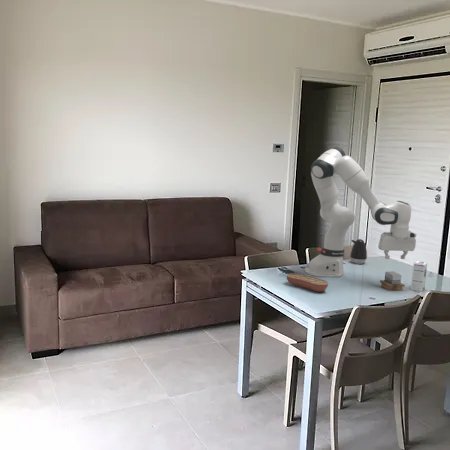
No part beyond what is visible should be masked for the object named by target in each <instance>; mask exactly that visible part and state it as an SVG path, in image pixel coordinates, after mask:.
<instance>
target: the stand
mask: <svg viewBox="0 0 450 450" xmlns="http://www.w3.org/2000/svg"><path fill="white" fill-rule="evenodd" d="M384 280H385V279H381V280H379V282H380V283H381V287H382V288H384V289H386V290H388V291H390V292H391V291H393V292H394V291H403V289H404V288H403V287H405V286H406V285H405V284H404V283H402V282H401V283H400V285H391V284H390V283H388V282H386V281H384Z"/></svg>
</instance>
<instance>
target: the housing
mask: <svg viewBox="0 0 450 450" xmlns="http://www.w3.org/2000/svg"><path fill="white" fill-rule="evenodd" d="M383 280H384V281H386V282H388V283H390V284H391V285H400V283H402V274H400V273H398V272H396V271H385V272H384V279H383Z"/></svg>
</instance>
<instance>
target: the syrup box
mask: <svg viewBox="0 0 450 450" xmlns="http://www.w3.org/2000/svg"><path fill="white" fill-rule="evenodd" d="M427 268H428V262H426V261H418V260H416V261H415V262H413V268H412V278H411V285H410V287H411V288H410V289H411V290H412V291H417V292H423V291H424V290H425V288H426V287H425V286H426V277H427V270H428V269H427Z"/></svg>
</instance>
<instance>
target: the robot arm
mask: <svg viewBox="0 0 450 450" xmlns="http://www.w3.org/2000/svg"><path fill="white" fill-rule="evenodd" d="M334 174H335V175H338V176H339V177H340V178H341V180H342V181H343V182H344V184H345V185H346V186H347V187H348V188H349V189H350V190H351V192H354V193H355V194H358V195H359V197H360V198H361V199H363V201H364V202H365V204H366V205H367V206H368V208H369V209H370V214H371V217H372V219H373V220H374V221H375V223H377V224H379V225H382V226H386V225H387V226H388V225H390V229H389V231H388V232H386V231H384V232H382V233H381V234H380V238H379V242H378V246H377V247H378V249H379V250H380V251H383V253H384V258H385V259H386V260H389V259H390V257H391V255H389V252H390V251H394V252H396V251H397V252H403V253H402V254H401V255H400V259H401V260H405V258H406V256H407V254H408V253H409V252H413V251H415V249H416V246H417V245H416V244H417V241H416V237H417V233H415V232H413V231H411V230H409V228H410V226H409V224H410V221H411V217H412V215H411V214H412V207H411V205H410V204H409V203H407V202H405V201H401V200H396V201H394V202H392V203H390V204H385V203H383V202H382V201H381V200H380V199H379V198H378V197H377V196H376V194H375V193H374V191H373V190H372V188H371V186H370V181H369V178H368V176H367V174H366V172H365V171H364V170H363V168H362V167H361V166H360V165H359V163H358V162H357V161H355V159H354V158H353V157H352V156H350V155H346V153H345V151H344V150H343V149H342V148H341V147H338V146H333V147H331V148H329V149H327V150H326V151H325V152H323V153H322V154H320V156H319V157H318V158H317V159H316V160H314V161H313V162H312V164H311V166H310V176H311V180H312V183H313V186H314V188H315V191H316V194H317V197H318V199H319V202H320V210H319V215H320V217H321V219H323V220H324V221H326V222H327V223H330V226H329V229H328V230H327V232H326V233H325V235H324V242H323V243H324V244H323V247H322V248H321V247H318V248H317V250H316V251H317V252H320V253H319V254H318V255H316V256H314V257H313V258H312V259H311V260H310V261H309V264H308V267H305V268H304V270H303V271H304V272H305V273H306V274H308V275H309V276H310V275H311V277H328V278H329V277H331V278H333V277H334V278H340V277H342V276H343V275H345V270H344V257H345V249H344V248H345V242H346V241H345V239H346V235H347V233H348V230H349V228H350V227H351V226H352V225H353V224H354V222H355V213H354V212H353V210H351V209H350V208H348V207H347V206H344V205H340V203H339V196H340V195H339V194H340V191H339V189H338V186H337V185H336V182H335V180H334V177H333V176H334Z"/></svg>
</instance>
